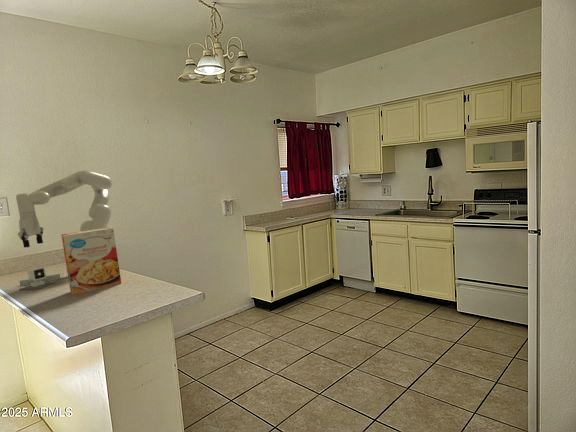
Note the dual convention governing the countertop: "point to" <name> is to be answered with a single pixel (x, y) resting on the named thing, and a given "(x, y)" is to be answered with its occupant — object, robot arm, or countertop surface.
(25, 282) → the low wall
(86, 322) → the countertop surface
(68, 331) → the countertop surface
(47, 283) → the mat
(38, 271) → the security camera
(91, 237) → the pasta box
